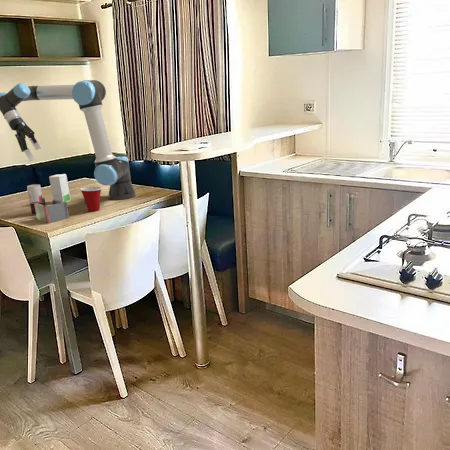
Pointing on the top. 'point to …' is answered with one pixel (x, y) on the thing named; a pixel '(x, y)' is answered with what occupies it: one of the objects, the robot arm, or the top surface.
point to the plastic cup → (92, 198)
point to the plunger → (44, 202)
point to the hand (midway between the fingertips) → (35, 154)
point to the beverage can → (34, 196)
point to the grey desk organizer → (52, 211)
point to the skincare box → (60, 187)
